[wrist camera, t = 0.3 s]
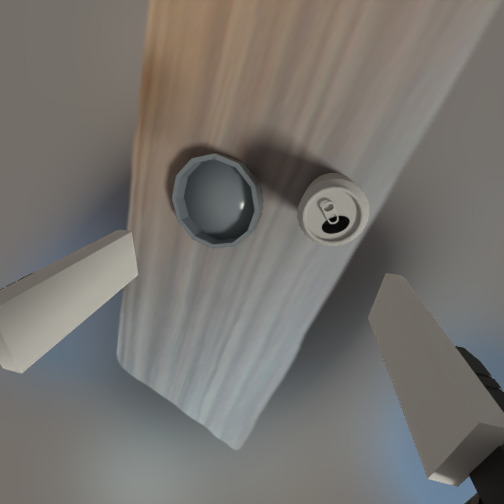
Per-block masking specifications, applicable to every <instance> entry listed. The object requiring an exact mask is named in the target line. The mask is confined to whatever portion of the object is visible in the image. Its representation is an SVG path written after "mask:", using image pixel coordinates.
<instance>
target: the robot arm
mask: <svg viewBox="0 0 504 504" xmlns="http://www.w3.org/2000/svg"><path fill="white" fill-rule="evenodd" d="M137 275H138V271H137V264H136V258H135V251H134V244H133V238H132V232H130V231H124V230H117V231H115V232H113V233H111V234H109V235H107V236H105V237H103V238H101V239H99V240H97V241H96V242H94V243H92V244H90V245H88V246H86V247H84V248H82V249H80V250H78V251H76V252H74V253H72V254H70V255H68V256H66V257H64V258H62V259H60V260H58V261H56V262H54V263H52V264H50V265H48V266H46V267H44V268H43V269H41V270H39V271H37V272H35V273H32V274H29V275H27V276H26V277H23V278H21V279H20V280H18V281H17V282H14V283H12V284H10V285H8V286H6V287H5V288H2V289H0V364H1V366H2V367H3V368H4V369H7V370H11V371H15V372H19V373H23V372H24V371H25V370H26V369H28V368H29V367H30V366H31V365H32V364H33V363H34V362H36V361H37V360H38V359H39V358H40V357H42V356H43V355H44V354H45V353H46V352H48V351H49V350H50V349H51V348H52V347H53V346H55V345H56V344H57V343H58V342H59V341H61V340H62V339H63V338H64V337H65V336H66V335H68V334H69V333H70V332H71V331H72V330H74V328H76V327H77V326H78V325H79V324H81V323H82V322H83V321H84V320H85V319H86V318H88V317H89V316H90V315H91V314H92V313H94V312H95V311H96V310H97V309H98V308H100V307H101V306H102V305H103V304H104V303H105V302H107V301H108V300H109V299H110V298H111V297H112V296H114V295H115V294H116V293H117V292H118V291H120V290H121V289H122V288H123V287H124V286H126V285H127V284H128V283H129V282H130V281H131V280H133V279H134V278H135V277H136V276H137ZM368 319H369V322H370V324H371V327H372V330H373V332H374V335H375V338H376V340H377V343H378V346H379V348H380V351H381V354H382V356H383V359H384V362H385V365H386V367H387V370H388V373H389V375H390V378H391V381H392V383H393V386H394V389H395V392H396V394H397V397H398V400H399V402H400V405H401V408H402V410H403V413H404V416H405V418H406V421H407V424H408V426H409V429H410V432H411V435H412V437H413V440H414V443H415V445H416V448H417V451H418V453H419V456H420V459H421V462H422V464H423V467H424V470H425V472H426V475H427V478H428V479H431V480H435V481H438V482H442V483H446V484H450V485H454V486H459V485H460V484H461V483H462V482H463V481H464V480H465V479H466V478H467V477H469V476H470V478H471V480H472V482H473V484H474V486H475V488H476V490H477V492H478V493H476V494H475V495H474V496H473V497H472V498H471V499H469V500H468V501H467V502H466V503H465V504H504V392H502V388H501V387H500V386H499V384H498V383H497V382H496V381H495V379H492V377H491V375H490V373H489V372H488V371H487V370H486V368H485V367H484V366H483V364H482V363H481V362H480V361H479V360H478V359H477V358H475V357H474V356H473V355H472V354H471V353H469V352H468V351H467V350H466V349H465V348H462V347H457V346H454V344H453V343H452V342H451V340H450V339H449V338H448V336H447V335H446V334H445V332H444V331H443V329H442V328H441V327H440V326H439V324H438V323H437V321H436V320H435V319H434V317H433V316H432V314H431V313H430V312H429V310H428V309H427V308H426V306H425V305H424V304H423V302H422V301H421V300H420V298H419V297H418V295H417V294H416V293H415V292H414V290H413V289H412V287H411V286H410V285H409V283H408V282H407V281H406V279H405V278H404V277H403V276H400V275H394V274H387V273H386V275H385V277H384V280H383V282H382V284H381V287H380V289H379V292H378V294H377V297H376V299H375V302H374V304H373V307H372V309H371V312H370V314H369V317H368Z"/></svg>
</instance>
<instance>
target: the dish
mask: <svg viewBox="0 0 504 504" xmlns="http://www.w3.org/2000/svg"><path fill="white" fill-rule="evenodd" d="M172 201H173V205H174V208H175V212H176V216H177V219H178V222H179V223H180V224H181V225H182V227H183V228H184V229H185V230H186V231H187V233H188V234H189V235H190V236H191V237H192V239H194V240H196V241H198V242H200V243H202V244H204V245H207V246H209V247H211V248H225V247H234V246H236V245H237V244H238V243H240V242H241V241H242V240H244V239H245V238H246V237H248V236H249V235H250V234H251V233H252V232H253V231H254V230H255V229H256V226H257V224H258V222H259V220H260V217H261V214H262V210H263V197H262V192H261V188H260V184H259V182H258V181H257V179H256V177H255V176H254V174H253V173H252V171H251V170H250V169H249V168H248V167H247V166H246V165H245V164H244V163H243V162H241V161H239V160H237V159H234V158H232V157H229V156H226V155H223V154H210V155H205V156H201V157H196V158H192V159H190V161H189V162H188V163H187V164H186V165H185V166H184V167H183V168H182V169H181V171H180V172H179V173H178V174H177V175H176V178H175V184H174V189H173V194H172Z"/></svg>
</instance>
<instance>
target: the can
mask: <svg viewBox="0 0 504 504" xmlns="http://www.w3.org/2000/svg"><path fill="white" fill-rule="evenodd" d="M369 213H370V210H369V203H368V199H367V198H366V196H365V194H364V192H363V191H362V190H361V189H360V188H359V187H358V186H357V185H356V184H355V183H354V182H353V181H352V180H350V179H349V178H348V177H347V176H345V175H342V174H339V173H328V174H324V175H321V176H319V177H318V178H316V179H315V180H313V182H312V183H311V184H310V185H309V186H308V188H307V190H306V191H305V193H304V195H303V197H302V199H301V201H300V204H299V206H298V215H297V217H298V221H299V225H300V227H301V229H302V231H303V232H304V234H305V235H306V236H307V237H308V238H309V239H311V240H312V241H314V242H316V243H318V244H321V245H326V246H337V245H343V244H345V243H347V242H349V241H352V240H353V239H355V238H356V237H357V236H358V235H359V234H360V233H361V232H362V231H363V229H364V227H365V226H366V224H367V222H368V217H369Z"/></svg>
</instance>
